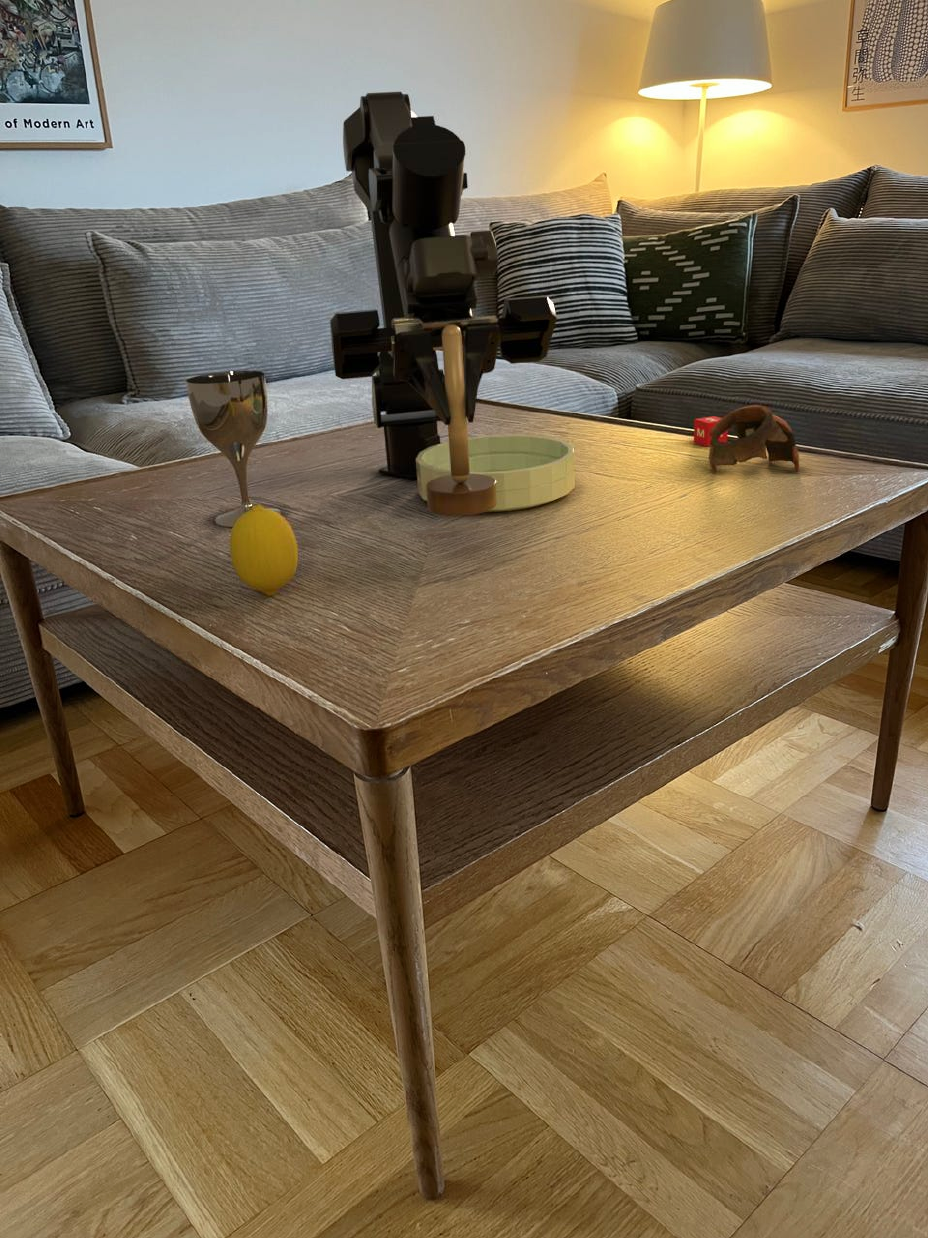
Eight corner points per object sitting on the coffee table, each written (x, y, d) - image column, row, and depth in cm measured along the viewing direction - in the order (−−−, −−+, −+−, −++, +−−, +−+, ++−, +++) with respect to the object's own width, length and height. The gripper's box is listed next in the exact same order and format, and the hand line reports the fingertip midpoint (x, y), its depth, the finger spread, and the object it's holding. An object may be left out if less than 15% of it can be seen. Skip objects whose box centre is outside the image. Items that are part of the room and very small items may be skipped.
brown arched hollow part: (815, 482, 100) (789, 423, 96) (732, 518, 103) (704, 462, 99) (790, 431, 109) (766, 374, 105) (715, 466, 113) (689, 412, 108)
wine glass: (297, 507, 102) (278, 370, 96) (261, 529, 95) (237, 383, 89) (236, 504, 104) (214, 370, 98) (196, 526, 98) (169, 384, 92)
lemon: (243, 586, 80) (227, 498, 77) (306, 580, 81) (293, 493, 77) (233, 610, 75) (217, 518, 72) (301, 604, 76) (287, 512, 72)
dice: (693, 442, 118) (694, 418, 117) (713, 439, 119) (714, 415, 118) (707, 446, 115) (708, 423, 114) (727, 443, 116) (728, 419, 115)
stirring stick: (413, 509, 79) (397, 328, 73) (459, 491, 83) (448, 318, 77) (465, 520, 75) (453, 330, 69) (511, 501, 79) (503, 320, 73)
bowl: (387, 500, 102) (383, 461, 100) (487, 465, 114) (485, 429, 112) (508, 525, 91) (506, 481, 90) (605, 483, 103) (605, 444, 101)
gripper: (316, 204, 71) (341, 370, 66) (547, 190, 74) (590, 347, 68) (324, 303, 81) (346, 453, 76) (527, 287, 84) (562, 430, 79)
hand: (459, 420), depth 74 cm, fingers closed on stirring stick
